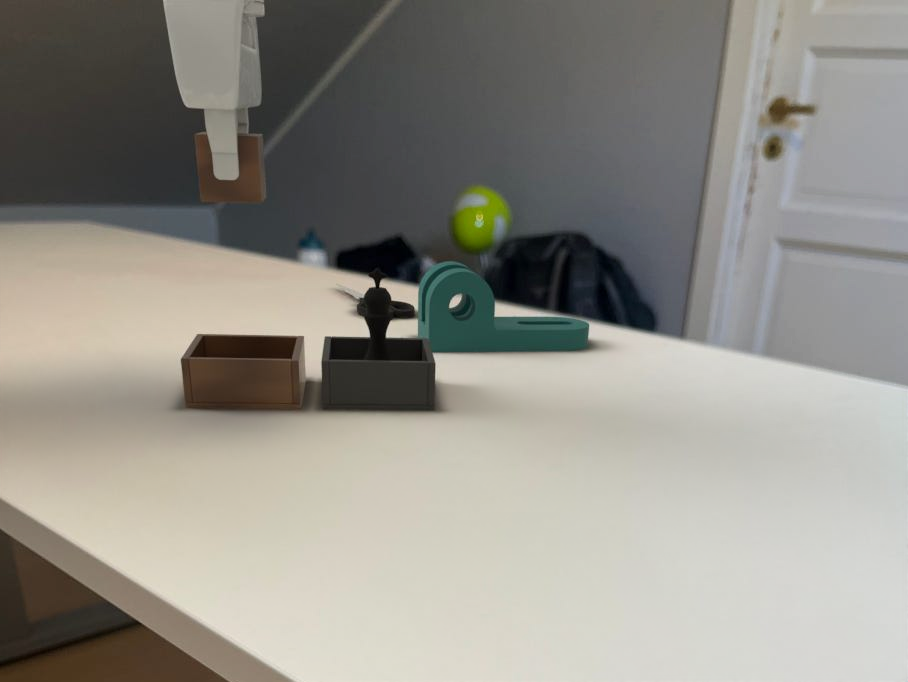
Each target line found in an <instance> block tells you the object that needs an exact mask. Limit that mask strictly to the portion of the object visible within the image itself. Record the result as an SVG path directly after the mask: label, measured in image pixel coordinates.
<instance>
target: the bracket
mask: <svg viewBox="0 0 908 682" xmlns="http://www.w3.org/2000/svg"><path fill="white" fill-rule="evenodd" d="M421 278H422V279H421V280H420V283H419V286H418V293H417V338H428V339H429V343H430V346H431V349H432V353H477V352H478V353H484V352H485V353H490V352H491V353H494V352H496V353H497V352H498V353H499V352H500V353H501V352H503V353H504V352H507V353H508V352H511V353H512V352H514V353H515V352H516V353H517V352H575V351H576V352H577V351H580V350H581V351H582V350H584V349H587V348H588V344H589V333H590V323H589V322H587V321H585V320H582V319H577V318H574V317H573V318H572V317H567V316H566V317H564V316H495V315H496V300H495V295H494V292H493V291H492V288H491V287H490V285H489V283H488V282H487V281H486V280H485V279H484V278H482V277H481V275H478V274H477V273H476V272H474V270H472V269H471V268H470V267H468V266H466V265H465V264H463V263H461V262H458V261H455V260H454V261H452V260H450V261H448V260H447V261H442V262H439V263H436V264H435V265H433V266H432V267H431V268H429V269H428V270H427V271H426V272H425V274H424V275H423V276H422V277H421ZM459 294H461V298H460V301H459V302H458V303H457V305H455V306H453V307H450V305H451V302H452V300H453V299H454V297H455V296H457V295H459Z"/></svg>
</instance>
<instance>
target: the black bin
mask: <svg viewBox="0 0 908 682" xmlns="http://www.w3.org/2000/svg"><path fill="white" fill-rule="evenodd" d="M369 344H370V336H334V335H333V336H327V335H326V336H324V338H323V347H322V353H321V361H320V365H321V384H322V385H321V391H322V409H323V410H341V411H342V410H347V411H349V410H350V411H428V412H429V411H430V412H432V411H436V406H435V405H436V360H435V357H434V354H433V353H434V352H432V349H431V346H430V343H429V339H428V338H418V337H387V336H386V345H387V349H388V352H389V355H390V357H391V359H392V361H386V360H364V359H365V356H366V354H367V352H368V349H369Z"/></svg>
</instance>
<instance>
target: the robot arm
mask: <svg viewBox="0 0 908 682" xmlns="http://www.w3.org/2000/svg"><path fill="white" fill-rule="evenodd" d="M162 2H163V3H162V4H163V10H164V15H165V22H166V28H167V29H166V30H167V34H168V41H169V45H170V47H169V48H170V51H171V58H172V64H173V69H174V74H175V78H176V79H175V80H176V83H177V86H178V87H177V88H178V90H179V94H180V97H181V100H182V102H183V105H184V106H185V107H186V108H188V109H200V110H201V109H203V113H204V125H205V131H206V132H207V135H208V139H209V143H210V147H211V152H212V160H213V170H214V175H215V177H216V178H218V179H219V180H236V179H237V178H238V177H239V176H240V158H239V153H238V138H237V133H247V134H249V124H250V123H249V122H250V120H249V108H256V107H259V106H260V105H261V104H262V96H263V95H262V93H263V92H262V91H263V89H262V73H261V60H260V59H261V58H260V47H259V34H258V24H257V23H258V22H257V18H262V17H264V16H265V15H266V13H265V12H266V11H265V0H162Z"/></svg>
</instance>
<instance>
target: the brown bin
mask: <svg viewBox="0 0 908 682" xmlns="http://www.w3.org/2000/svg"><path fill="white" fill-rule="evenodd" d="M305 348H306V347H305V336H304V335H281V334H279V335H278V334H277V335H276V334H271V335H270V334H231V333H230V334H229V333H228V334H226V333H225V334H224V333H220V334H219V333H197V334H196V335H195V337H194V338H193V340H192V341H191V343H190V344H189V346H188V347H187V349H186V350H185V352H184V354H183V355H182V356H181V358H180V367H181V377H182V386H183V394H184V395H183V396H184V402H185V403H184V404H185V405H184V406H185V409H238V410H239V409H240V410H241V409H242V410H243V409H249V410H251V409H253V410H255V409H256V410H259V409H261V410H264V409H265V410H301V409H302V405H303V401H304V393H305V388H306V383H307V376H306V375H307V374H306V370H307V369H306V349H305Z"/></svg>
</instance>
